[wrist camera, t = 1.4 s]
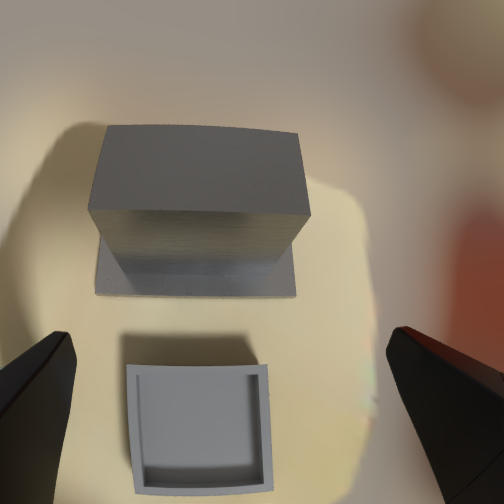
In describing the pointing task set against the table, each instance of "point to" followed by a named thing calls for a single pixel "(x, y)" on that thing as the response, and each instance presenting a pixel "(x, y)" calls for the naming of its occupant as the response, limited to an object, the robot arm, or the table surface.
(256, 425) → the holder tray
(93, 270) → the table surface
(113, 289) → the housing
